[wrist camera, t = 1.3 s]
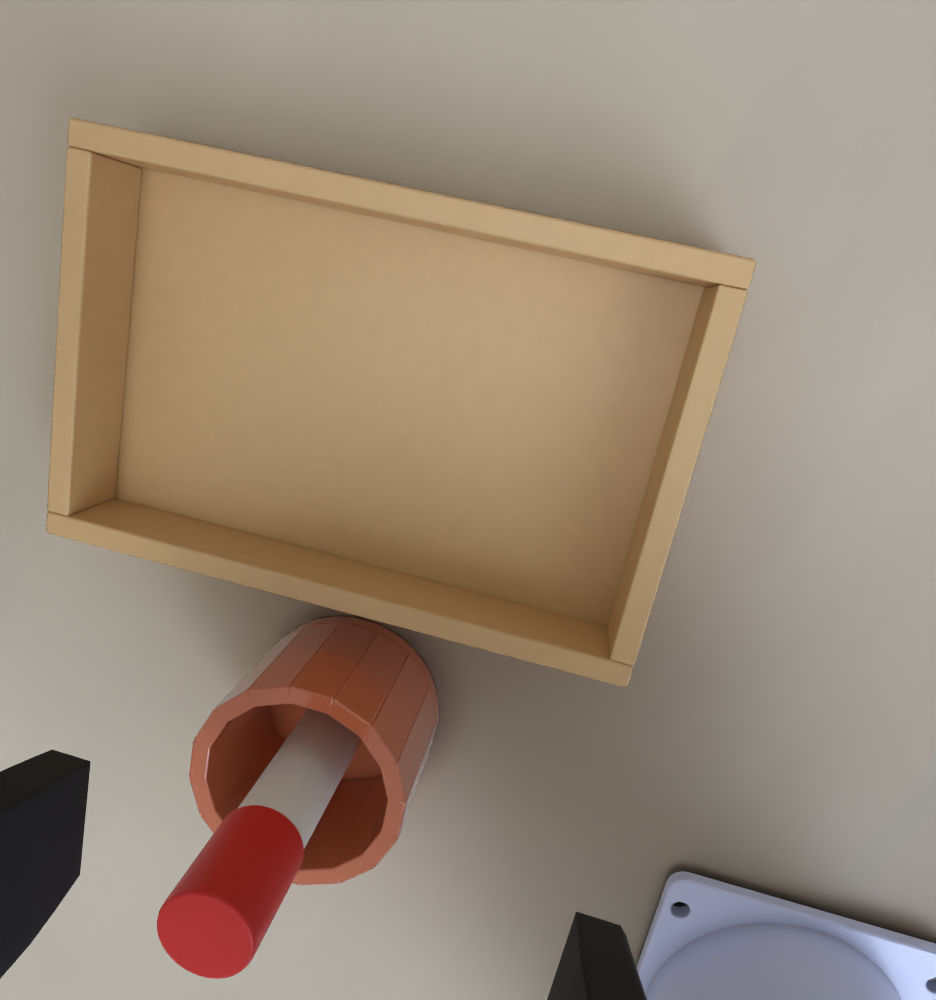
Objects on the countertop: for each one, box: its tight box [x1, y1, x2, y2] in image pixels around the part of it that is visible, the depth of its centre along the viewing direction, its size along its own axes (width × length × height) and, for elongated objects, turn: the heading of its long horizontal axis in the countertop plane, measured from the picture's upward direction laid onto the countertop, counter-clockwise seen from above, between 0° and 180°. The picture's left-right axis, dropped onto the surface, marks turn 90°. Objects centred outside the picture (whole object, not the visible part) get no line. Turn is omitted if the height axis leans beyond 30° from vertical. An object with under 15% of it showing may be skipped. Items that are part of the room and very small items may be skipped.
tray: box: [46, 118, 756, 687], centre depth 18 cm, size 10×15×2 cm, turn 78°
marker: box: [157, 709, 362, 979], centre depth 17 cm, size 2×2×8 cm
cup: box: [189, 616, 439, 885], centre depth 19 cm, size 5×5×4 cm
